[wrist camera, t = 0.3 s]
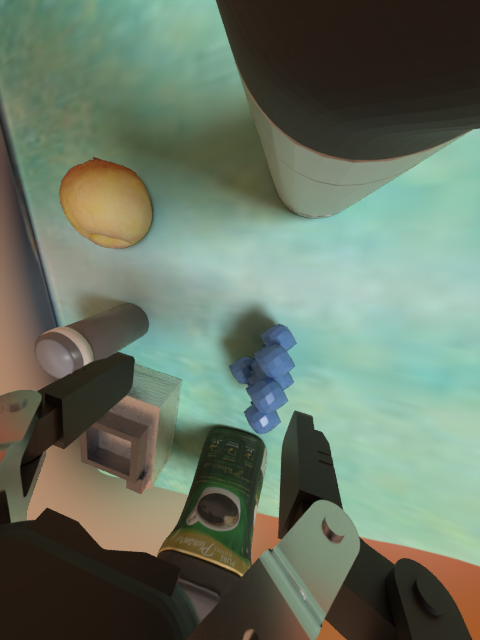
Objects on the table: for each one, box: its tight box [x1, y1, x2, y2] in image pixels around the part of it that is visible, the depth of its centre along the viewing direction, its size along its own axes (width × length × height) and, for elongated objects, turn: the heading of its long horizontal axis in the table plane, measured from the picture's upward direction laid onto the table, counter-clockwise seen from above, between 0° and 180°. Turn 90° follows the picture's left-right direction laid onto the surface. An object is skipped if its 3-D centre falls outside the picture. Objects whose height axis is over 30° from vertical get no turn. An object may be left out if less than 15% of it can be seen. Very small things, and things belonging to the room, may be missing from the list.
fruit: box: [60, 157, 152, 248], centre depth 23 cm, size 8×8×8 cm
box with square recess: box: [80, 364, 182, 494], centre depth 33 cm, size 16×11×8 cm
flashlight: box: [35, 304, 149, 379], centre depth 26 cm, size 5×5×11 cm
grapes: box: [229, 324, 297, 434], centre depth 23 cm, size 12×7×12 cm, turn 172°
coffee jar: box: [157, 428, 267, 622], centre depth 26 cm, size 10×8×19 cm
